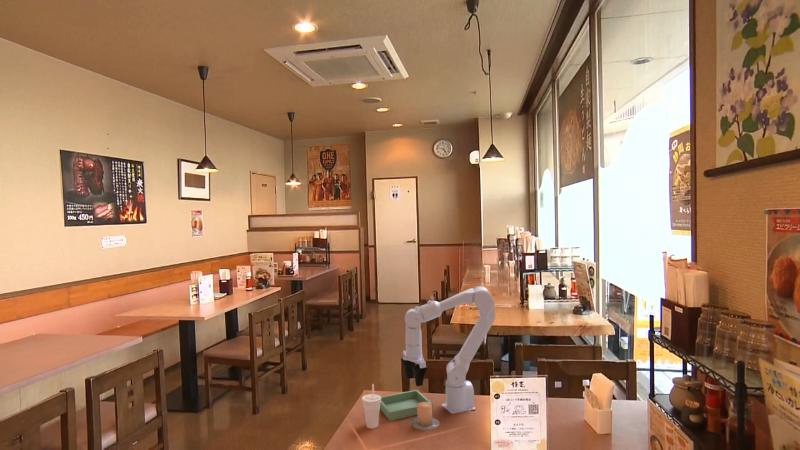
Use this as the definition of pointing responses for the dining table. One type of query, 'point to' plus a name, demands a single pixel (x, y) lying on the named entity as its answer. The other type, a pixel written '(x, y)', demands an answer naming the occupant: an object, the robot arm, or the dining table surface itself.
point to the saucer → (434, 425)
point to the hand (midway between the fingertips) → (414, 381)
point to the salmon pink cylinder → (424, 414)
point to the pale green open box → (402, 404)
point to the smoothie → (371, 408)
